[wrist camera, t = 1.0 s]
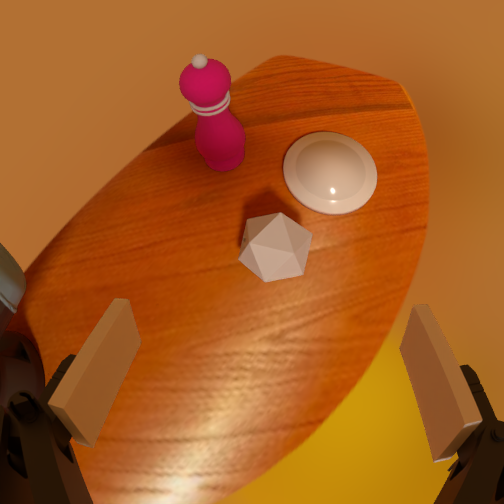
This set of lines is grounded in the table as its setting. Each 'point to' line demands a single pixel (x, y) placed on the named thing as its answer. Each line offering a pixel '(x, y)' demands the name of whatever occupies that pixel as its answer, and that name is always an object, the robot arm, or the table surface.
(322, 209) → the plate
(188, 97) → the pepper mill
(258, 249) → the die
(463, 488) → the robot arm
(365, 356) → the table surface
